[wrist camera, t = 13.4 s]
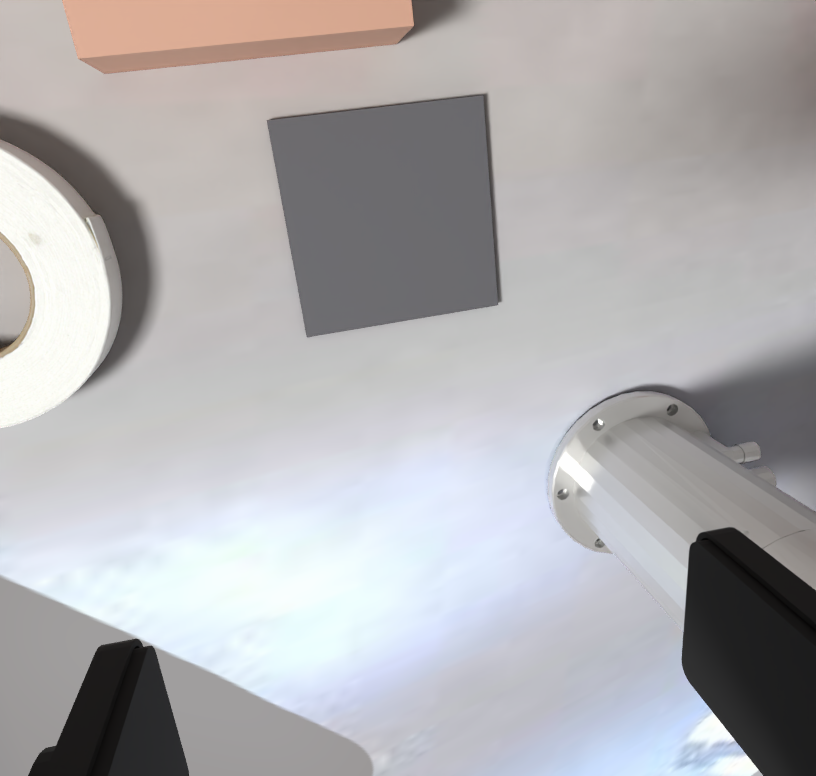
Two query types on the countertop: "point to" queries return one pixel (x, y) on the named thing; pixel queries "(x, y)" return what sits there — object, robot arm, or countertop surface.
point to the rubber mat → (387, 212)
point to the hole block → (226, 29)
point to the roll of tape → (54, 287)
